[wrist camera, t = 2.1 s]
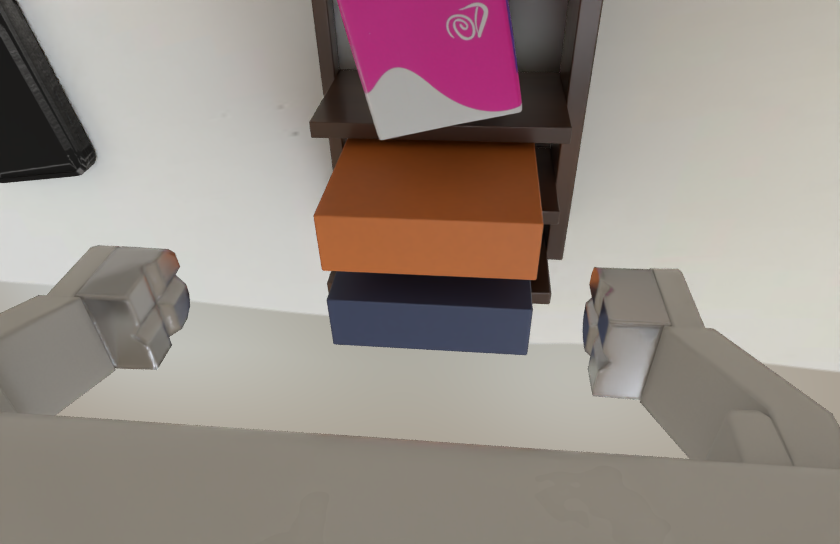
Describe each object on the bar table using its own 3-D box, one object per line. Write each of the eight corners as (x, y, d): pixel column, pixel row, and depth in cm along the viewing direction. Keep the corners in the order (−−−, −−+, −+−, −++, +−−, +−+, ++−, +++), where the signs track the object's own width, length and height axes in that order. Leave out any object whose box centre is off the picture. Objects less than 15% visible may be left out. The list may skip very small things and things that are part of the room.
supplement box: (515, 27, 31) (524, 119, 22) (405, 50, 32) (371, 147, 23) (498, -102, 27) (500, -54, 18) (375, -69, 29) (321, -11, 20)
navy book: (373, 160, 36) (325, 299, 26) (522, 164, 36) (532, 309, 25) (376, 200, 38) (333, 344, 28) (518, 204, 37) (527, 355, 27)
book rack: (283, -278, 24) (210, -304, 18) (630, -292, 23) (680, -326, 17) (343, 214, 39) (314, 293, 33) (556, 222, 38) (569, 305, 32)
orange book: (367, 90, 34) (312, 215, 24) (529, 93, 33) (543, 223, 23) (371, 136, 35) (321, 271, 25) (524, 139, 35) (536, 281, 24)
